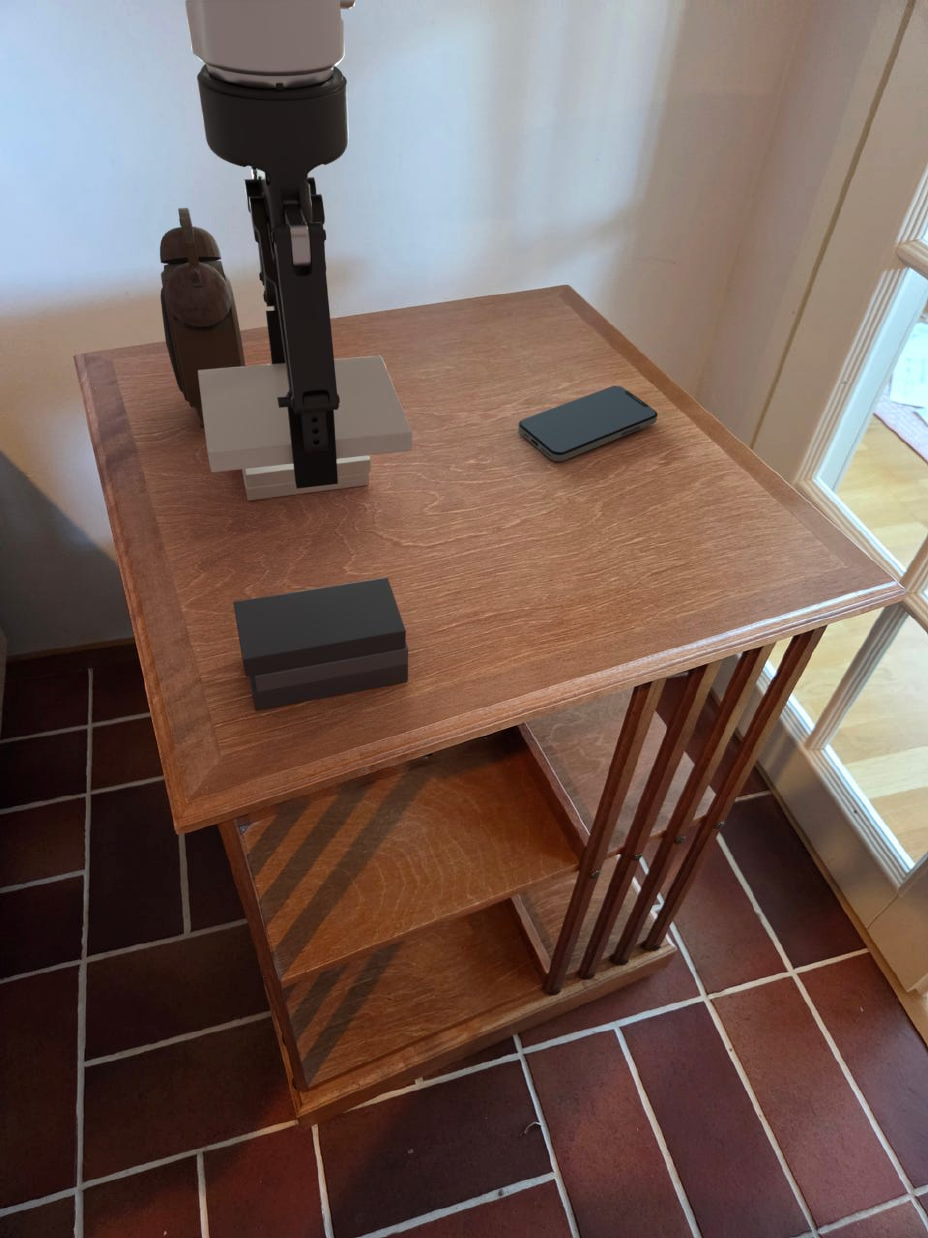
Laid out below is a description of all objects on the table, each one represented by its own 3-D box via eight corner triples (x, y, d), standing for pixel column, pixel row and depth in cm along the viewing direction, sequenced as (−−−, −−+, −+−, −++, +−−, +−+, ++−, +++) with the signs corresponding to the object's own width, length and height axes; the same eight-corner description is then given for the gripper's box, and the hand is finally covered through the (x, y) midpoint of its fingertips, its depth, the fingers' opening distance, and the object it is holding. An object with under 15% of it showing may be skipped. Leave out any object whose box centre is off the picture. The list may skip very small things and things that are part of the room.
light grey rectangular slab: (211, 473, 52) (207, 453, 51) (201, 388, 59) (197, 369, 58) (412, 451, 55) (412, 431, 54) (381, 373, 62) (381, 354, 61)
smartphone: (514, 420, 91) (617, 381, 97) (513, 433, 92) (615, 394, 98) (557, 455, 87) (662, 413, 93) (555, 468, 88) (659, 426, 94)
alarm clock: (174, 373, 95) (136, 188, 81) (239, 367, 97) (212, 185, 83) (185, 446, 86) (143, 251, 71) (256, 438, 88) (230, 246, 73)
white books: (247, 501, 80) (243, 475, 78) (238, 455, 85) (234, 430, 83) (371, 484, 83) (370, 460, 81) (355, 441, 88) (354, 417, 86)
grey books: (252, 711, 63) (242, 660, 59) (243, 653, 67) (233, 601, 63) (407, 681, 66) (409, 631, 62) (390, 627, 70) (390, 576, 66)
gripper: (392, 138, 36) (391, 533, 52) (312, 13, 50) (331, 351, 66) (211, 141, 34) (269, 549, 50) (183, 11, 49) (235, 359, 65)
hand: (304, 436), depth 58 cm, fingers closed on light grey rectangular slab, 10 cm apart
